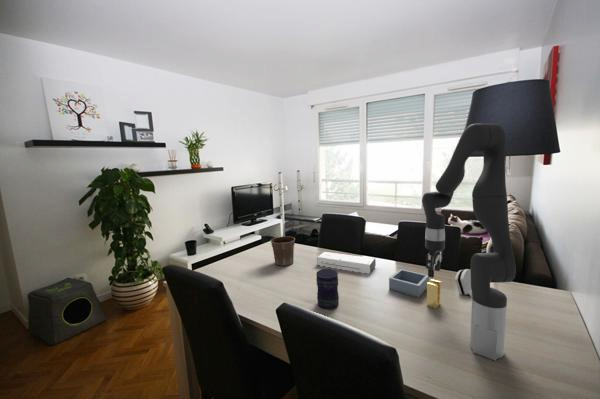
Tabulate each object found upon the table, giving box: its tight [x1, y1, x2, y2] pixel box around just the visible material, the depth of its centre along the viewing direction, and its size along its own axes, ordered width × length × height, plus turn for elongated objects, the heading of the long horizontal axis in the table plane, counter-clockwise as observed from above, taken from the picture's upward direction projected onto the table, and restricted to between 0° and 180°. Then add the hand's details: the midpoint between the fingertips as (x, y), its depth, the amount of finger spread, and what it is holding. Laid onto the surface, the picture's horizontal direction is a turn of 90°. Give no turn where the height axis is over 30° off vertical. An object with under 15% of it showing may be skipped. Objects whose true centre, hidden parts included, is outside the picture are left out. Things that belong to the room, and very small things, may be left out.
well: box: [388, 268, 430, 299], centre depth 133 cm, size 14×14×6 cm
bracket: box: [426, 278, 442, 309], centre depth 117 cm, size 5×4×10 cm
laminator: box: [316, 251, 377, 275], centre depth 165 cm, size 34×12×6 cm, turn 60°
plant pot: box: [270, 236, 296, 266], centre depth 175 cm, size 16×16×16 cm
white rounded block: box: [454, 268, 472, 298], centre depth 130 cm, size 17×5×10 cm, turn 135°
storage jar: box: [316, 268, 340, 311], centre depth 121 cm, size 10×10×15 cm
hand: (434, 273), depth 116 cm, fingers open, 8 cm apart
